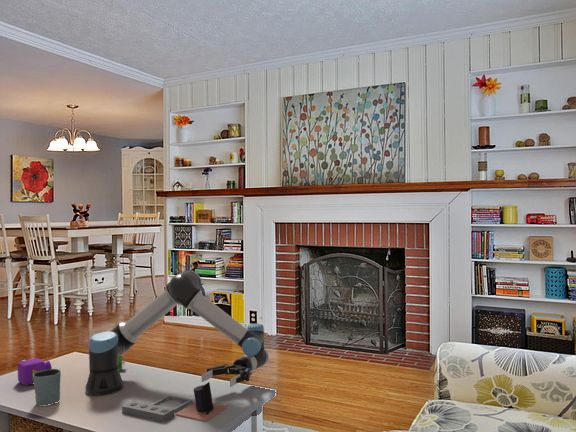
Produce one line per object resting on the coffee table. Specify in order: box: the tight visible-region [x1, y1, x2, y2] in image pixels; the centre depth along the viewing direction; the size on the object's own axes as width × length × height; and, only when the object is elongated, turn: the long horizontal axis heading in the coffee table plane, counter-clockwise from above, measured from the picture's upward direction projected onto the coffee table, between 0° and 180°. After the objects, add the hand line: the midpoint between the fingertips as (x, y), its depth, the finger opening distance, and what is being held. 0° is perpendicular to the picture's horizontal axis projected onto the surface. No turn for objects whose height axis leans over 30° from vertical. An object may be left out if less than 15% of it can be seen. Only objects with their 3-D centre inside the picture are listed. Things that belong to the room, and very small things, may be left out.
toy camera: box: [17, 358, 53, 386], centre depth 223 cm, size 11×14×10 cm
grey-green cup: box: [33, 368, 62, 405], centre depth 197 cm, size 10×10×12 cm
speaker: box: [193, 381, 214, 415], centre depth 185 cm, size 8×6×10 cm
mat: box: [174, 401, 229, 422], centre depth 185 cm, size 14×14×1 cm
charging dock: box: [121, 394, 194, 423], centre depth 189 cm, size 20×20×3 cm
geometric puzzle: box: [118, 355, 126, 371], centre depth 237 cm, size 7×7×8 cm
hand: (216, 380), depth 193 cm, fingers open, 13 cm apart
